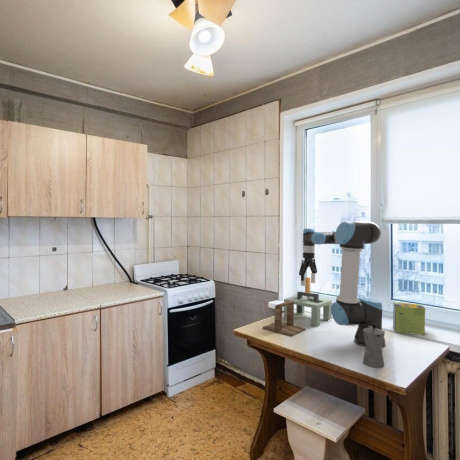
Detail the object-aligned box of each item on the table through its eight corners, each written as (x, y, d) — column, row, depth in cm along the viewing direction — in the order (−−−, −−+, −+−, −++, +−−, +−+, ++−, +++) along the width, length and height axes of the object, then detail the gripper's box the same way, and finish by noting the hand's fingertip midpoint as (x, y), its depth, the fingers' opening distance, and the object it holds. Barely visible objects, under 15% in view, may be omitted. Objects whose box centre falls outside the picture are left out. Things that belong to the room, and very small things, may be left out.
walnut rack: (291, 336, 184) (292, 308, 184) (262, 328, 197) (263, 302, 197) (306, 329, 196) (306, 303, 195) (277, 322, 209) (278, 297, 209)
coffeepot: (389, 370, 143) (390, 329, 142) (367, 369, 144) (368, 328, 143) (377, 356, 158) (378, 319, 158) (357, 355, 159) (357, 318, 159)
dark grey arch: (317, 316, 211) (317, 278, 211) (297, 312, 221) (297, 276, 221) (318, 315, 213) (318, 278, 213) (299, 312, 222) (299, 276, 223)
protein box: (425, 335, 189) (425, 308, 188) (395, 332, 194) (395, 305, 193) (420, 329, 199) (421, 304, 198) (392, 326, 204) (393, 301, 203)
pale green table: (317, 326, 202) (317, 301, 202) (283, 318, 218) (284, 295, 218) (331, 319, 217) (331, 296, 216) (299, 312, 233) (299, 291, 232)
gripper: (312, 250, 228) (312, 281, 229) (293, 252, 210) (293, 286, 210) (322, 251, 223) (322, 282, 224) (304, 253, 204) (303, 287, 205)
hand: (308, 284), depth 217 cm, fingers open, 13 cm apart
